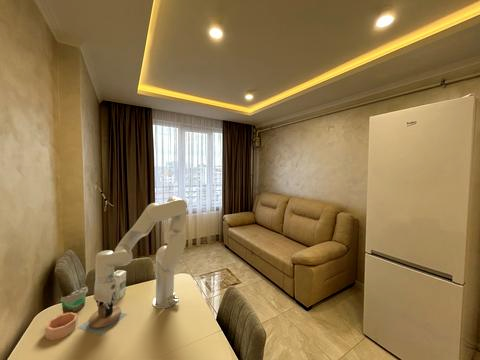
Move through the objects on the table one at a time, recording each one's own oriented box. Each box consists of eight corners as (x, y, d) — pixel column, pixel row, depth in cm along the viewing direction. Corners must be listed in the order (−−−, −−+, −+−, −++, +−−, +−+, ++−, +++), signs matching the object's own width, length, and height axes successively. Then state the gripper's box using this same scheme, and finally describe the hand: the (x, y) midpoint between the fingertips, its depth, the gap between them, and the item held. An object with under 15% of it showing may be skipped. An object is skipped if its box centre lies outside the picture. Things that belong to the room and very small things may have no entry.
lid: (127, 310, 99) (127, 299, 99) (103, 330, 87) (103, 317, 87) (107, 305, 103) (107, 294, 103) (81, 324, 90) (81, 311, 90)
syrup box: (116, 293, 117) (116, 269, 116) (125, 294, 116) (126, 270, 116) (109, 299, 111) (110, 274, 111) (119, 300, 111) (120, 275, 110)
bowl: (82, 325, 92) (82, 315, 91) (57, 343, 82) (57, 331, 82) (66, 320, 94) (66, 310, 94) (40, 337, 85) (40, 325, 84)
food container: (69, 319, 95) (70, 299, 95) (59, 317, 96) (60, 297, 96) (93, 303, 107) (93, 285, 107) (84, 301, 108) (84, 284, 108)
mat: (127, 315, 99) (127, 314, 99) (100, 337, 86) (100, 335, 86) (105, 309, 103) (105, 308, 103) (77, 329, 90) (77, 327, 90)
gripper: (125, 276, 96) (125, 312, 96) (99, 270, 100) (99, 305, 101) (111, 284, 88) (112, 323, 89) (84, 278, 93) (84, 315, 93)
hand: (105, 313), depth 95 cm, fingers closed on lid, 4 cm apart
